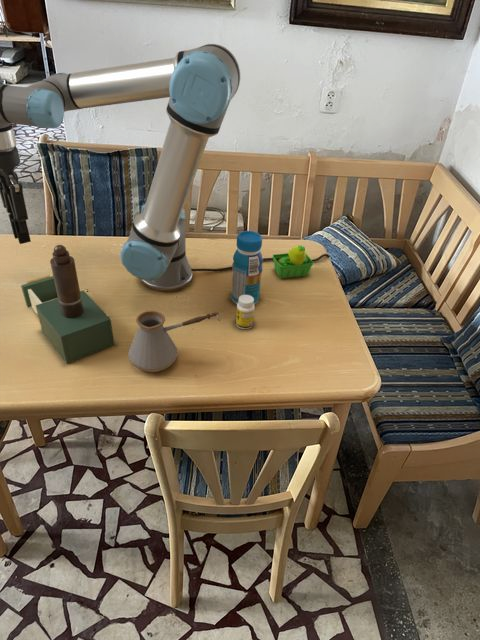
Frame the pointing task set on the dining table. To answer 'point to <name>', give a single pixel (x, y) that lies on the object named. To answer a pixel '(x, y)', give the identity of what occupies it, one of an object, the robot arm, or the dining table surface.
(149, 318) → the coffee pot
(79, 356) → the cabinet
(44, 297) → the drawer
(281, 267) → the fruit basket
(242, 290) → the beverage bottle
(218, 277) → the dining table surface
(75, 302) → the pepper mill
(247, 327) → the supplement bottle
